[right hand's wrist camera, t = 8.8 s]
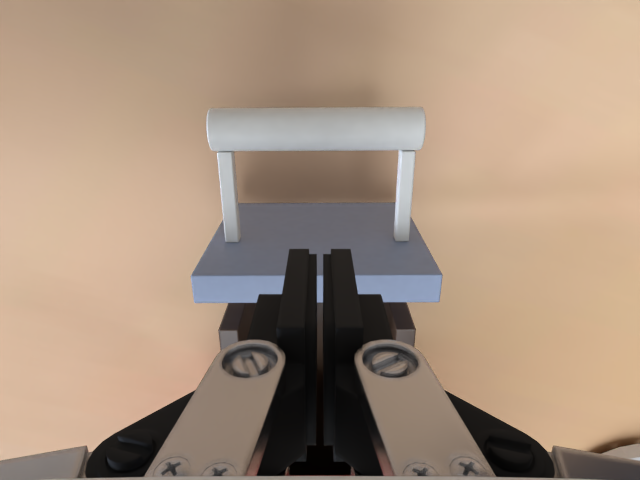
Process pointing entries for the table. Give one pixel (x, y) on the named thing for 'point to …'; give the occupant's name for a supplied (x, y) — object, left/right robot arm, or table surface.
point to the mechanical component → (626, 452)
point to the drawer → (316, 229)
